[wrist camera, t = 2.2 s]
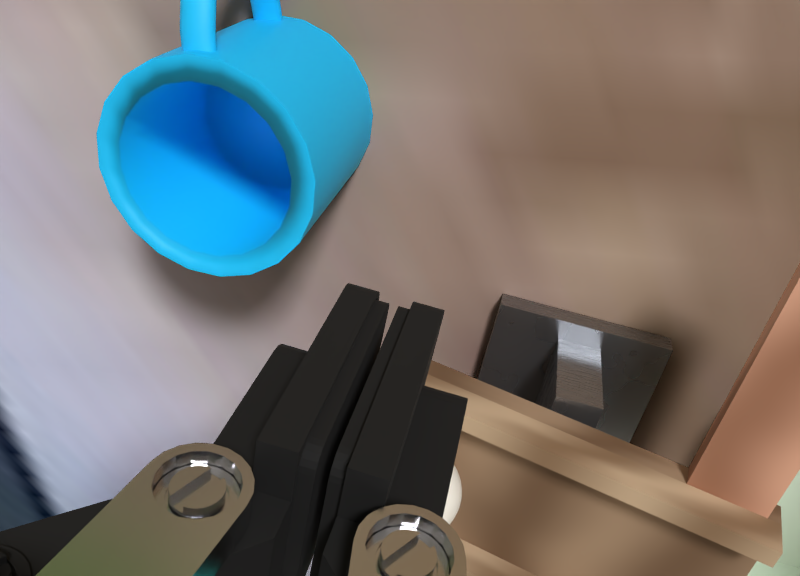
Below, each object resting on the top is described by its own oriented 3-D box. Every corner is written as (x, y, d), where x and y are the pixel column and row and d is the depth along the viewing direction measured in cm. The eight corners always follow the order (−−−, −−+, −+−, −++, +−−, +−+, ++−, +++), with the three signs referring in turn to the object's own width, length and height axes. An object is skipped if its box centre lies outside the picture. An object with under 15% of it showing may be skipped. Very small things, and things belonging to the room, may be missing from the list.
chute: (917, 298, 23) (944, 363, 19) (689, 644, 32) (682, 726, 29) (449, 145, 27) (406, 176, 24) (371, 490, 36) (332, 546, 33)
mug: (376, 201, 33) (323, 285, 26) (212, 191, 35) (122, 267, 28) (365, -91, 28) (294, -81, 21) (170, -88, 29) (42, -79, 22)
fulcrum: (670, 338, 34) (685, 411, 29) (589, 513, 40) (591, 595, 35) (502, 293, 34) (491, 357, 30) (449, 472, 40) (432, 548, 36)
